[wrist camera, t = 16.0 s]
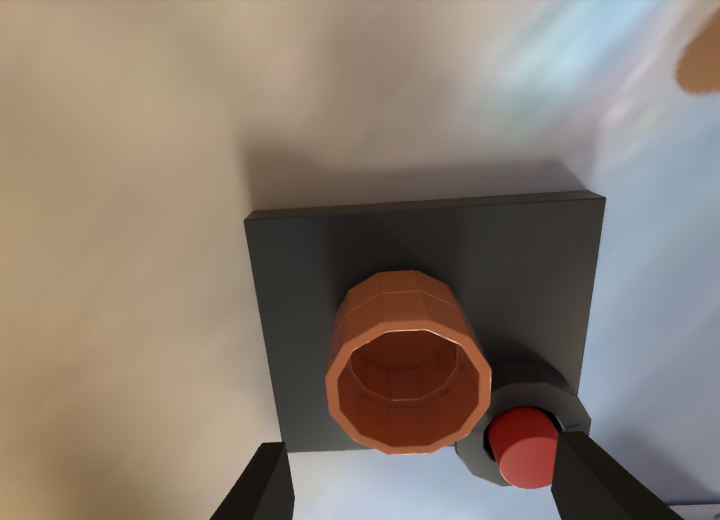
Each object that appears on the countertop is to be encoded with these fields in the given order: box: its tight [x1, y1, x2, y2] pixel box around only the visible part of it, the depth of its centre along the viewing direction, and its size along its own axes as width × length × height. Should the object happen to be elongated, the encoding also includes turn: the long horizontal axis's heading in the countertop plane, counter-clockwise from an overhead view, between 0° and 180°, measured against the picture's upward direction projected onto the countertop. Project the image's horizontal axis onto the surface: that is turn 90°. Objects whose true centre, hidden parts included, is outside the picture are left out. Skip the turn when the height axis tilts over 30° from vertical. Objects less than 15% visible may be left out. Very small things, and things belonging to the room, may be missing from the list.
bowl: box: [325, 270, 492, 455], centre depth 16 cm, size 5×5×4 cm
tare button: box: [488, 407, 558, 489], centre depth 18 cm, size 3×3×2 cm
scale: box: [244, 190, 606, 486], centre depth 18 cm, size 14×13×3 cm
